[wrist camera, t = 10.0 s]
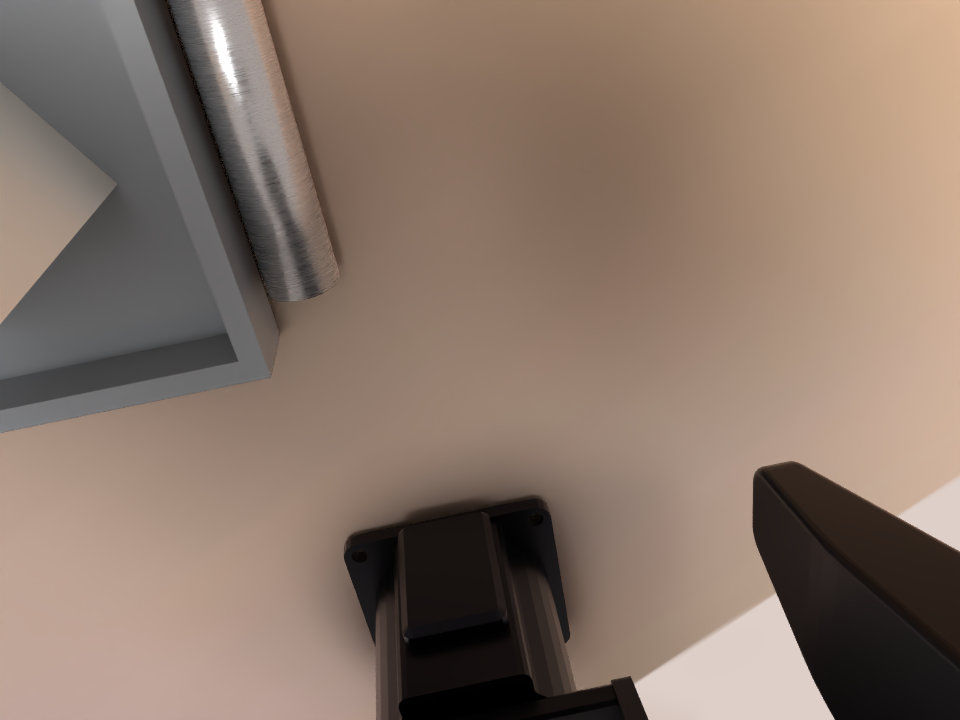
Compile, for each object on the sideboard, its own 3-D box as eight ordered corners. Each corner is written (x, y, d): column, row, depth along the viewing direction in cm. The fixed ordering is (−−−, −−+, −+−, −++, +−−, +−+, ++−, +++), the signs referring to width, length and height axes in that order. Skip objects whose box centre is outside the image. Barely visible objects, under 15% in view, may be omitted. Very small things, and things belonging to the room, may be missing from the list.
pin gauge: (255, 291, 20) (313, 262, 21) (294, 308, 19) (353, 276, 20) (87, -185, 15) (175, -195, 16) (126, -203, 14) (218, -214, 15)
